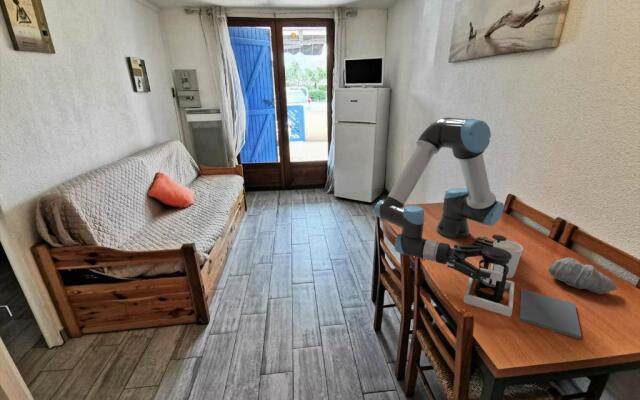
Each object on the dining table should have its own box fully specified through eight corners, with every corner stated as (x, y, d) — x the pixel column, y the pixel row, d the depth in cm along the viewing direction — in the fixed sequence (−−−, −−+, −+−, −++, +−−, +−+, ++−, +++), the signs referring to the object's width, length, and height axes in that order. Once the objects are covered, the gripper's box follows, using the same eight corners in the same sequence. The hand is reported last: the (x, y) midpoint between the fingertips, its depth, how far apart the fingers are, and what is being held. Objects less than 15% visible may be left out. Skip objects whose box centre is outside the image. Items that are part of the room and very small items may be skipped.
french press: (468, 285, 113) (477, 230, 105) (493, 285, 113) (504, 229, 105) (483, 306, 102) (495, 246, 94) (511, 306, 102) (526, 245, 94)
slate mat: (519, 320, 96) (520, 317, 95) (521, 291, 109) (521, 289, 109) (580, 339, 88) (581, 336, 88) (573, 305, 101) (574, 303, 101)
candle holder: (513, 267, 123) (519, 241, 119) (519, 281, 115) (526, 253, 111) (486, 263, 127) (491, 238, 122) (490, 276, 118) (496, 249, 114)
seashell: (617, 295, 106) (626, 270, 103) (587, 303, 102) (595, 278, 99) (570, 270, 121) (576, 248, 117) (542, 277, 117) (548, 254, 113)
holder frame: (463, 302, 104) (464, 295, 103) (470, 277, 118) (472, 271, 117) (510, 317, 97) (512, 309, 96) (512, 289, 110) (514, 282, 109)
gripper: (442, 246, 123) (502, 259, 113) (428, 277, 104) (499, 297, 93) (444, 230, 121) (506, 242, 110) (430, 258, 101) (503, 276, 90)
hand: (503, 267), depth 102 cm, fingers open, 13 cm apart
